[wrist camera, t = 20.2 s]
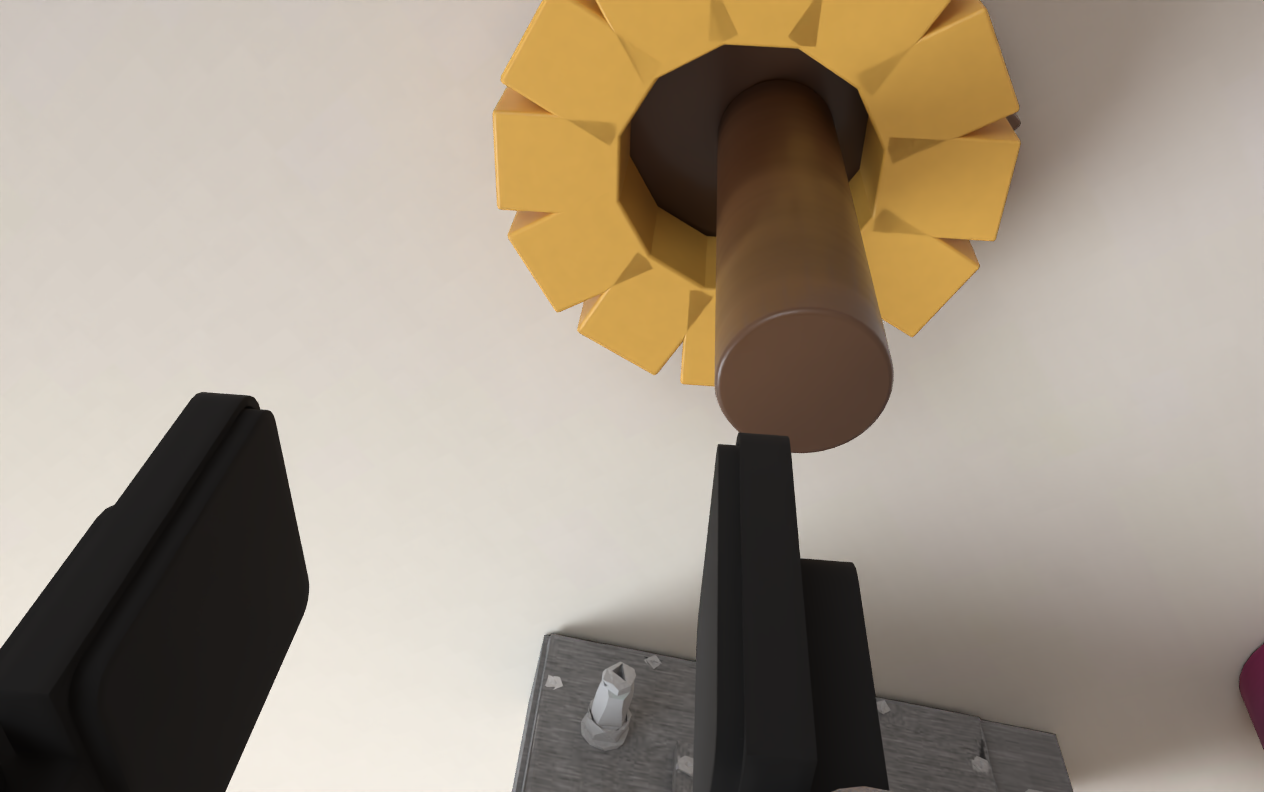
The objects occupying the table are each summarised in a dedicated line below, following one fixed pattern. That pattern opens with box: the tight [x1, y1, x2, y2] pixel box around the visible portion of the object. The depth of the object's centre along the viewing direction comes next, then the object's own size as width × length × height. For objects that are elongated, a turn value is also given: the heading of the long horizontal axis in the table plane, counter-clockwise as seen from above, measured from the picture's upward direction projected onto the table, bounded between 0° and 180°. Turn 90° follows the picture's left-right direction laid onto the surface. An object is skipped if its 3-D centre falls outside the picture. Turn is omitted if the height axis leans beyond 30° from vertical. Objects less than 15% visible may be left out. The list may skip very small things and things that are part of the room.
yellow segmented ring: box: [493, 0, 1021, 386], centre depth 20 cm, size 10×10×2 cm
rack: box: [630, 45, 1021, 453], centre depth 18 cm, size 7×7×10 cm
